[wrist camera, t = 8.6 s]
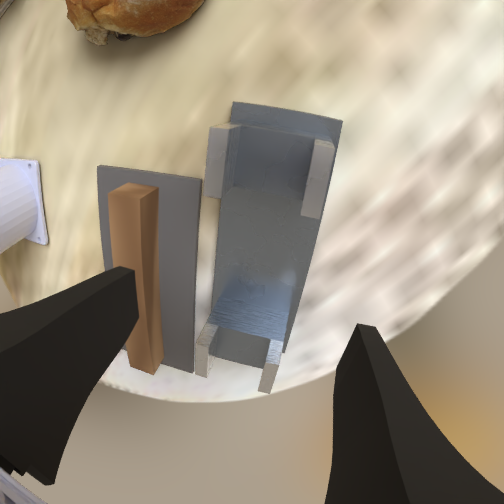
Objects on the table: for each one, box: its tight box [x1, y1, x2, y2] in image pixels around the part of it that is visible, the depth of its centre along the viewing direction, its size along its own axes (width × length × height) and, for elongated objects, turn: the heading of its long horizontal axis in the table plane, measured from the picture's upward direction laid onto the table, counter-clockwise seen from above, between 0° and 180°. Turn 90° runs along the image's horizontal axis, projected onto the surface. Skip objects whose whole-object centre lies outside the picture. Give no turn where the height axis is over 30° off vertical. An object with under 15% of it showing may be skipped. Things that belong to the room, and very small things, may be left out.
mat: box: [97, 165, 202, 373], centre depth 23 cm, size 8×18×1 cm, turn 172°
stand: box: [195, 102, 343, 394], centre depth 17 cm, size 6×17×6 cm, turn 172°
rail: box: [108, 182, 164, 375], centre depth 22 cm, size 2×16×2 cm, turn 172°
